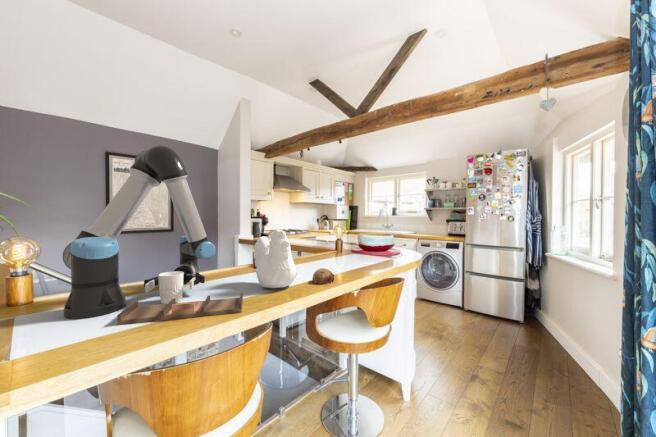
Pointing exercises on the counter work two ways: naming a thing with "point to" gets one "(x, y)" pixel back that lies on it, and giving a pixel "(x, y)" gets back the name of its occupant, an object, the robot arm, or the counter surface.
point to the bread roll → (323, 276)
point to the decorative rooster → (274, 260)
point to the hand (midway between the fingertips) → (168, 286)
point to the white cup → (171, 286)
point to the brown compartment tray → (179, 310)
